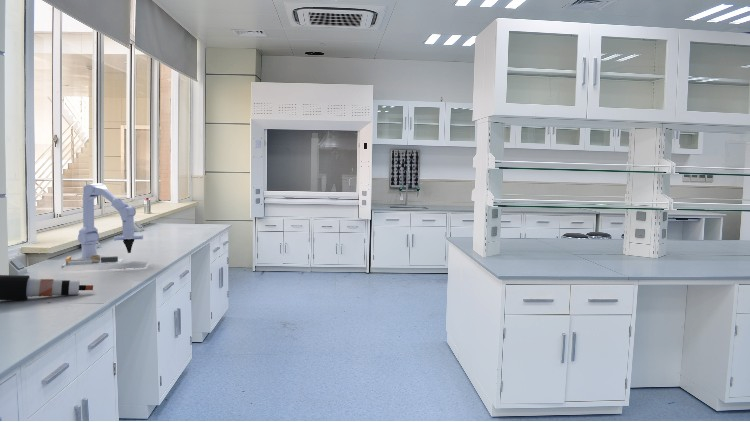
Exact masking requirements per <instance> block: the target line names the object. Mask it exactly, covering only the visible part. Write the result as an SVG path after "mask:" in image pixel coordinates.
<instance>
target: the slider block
mask: <svg viewBox="0 0 750 422" xmlns="http://www.w3.org/2000/svg"><path fill="white" fill-rule="evenodd" d="M89 259H90V261H92V262H99V261H100V260H101V255H99V254H97V255H92V256H91V257H90V258H89Z"/></svg>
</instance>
